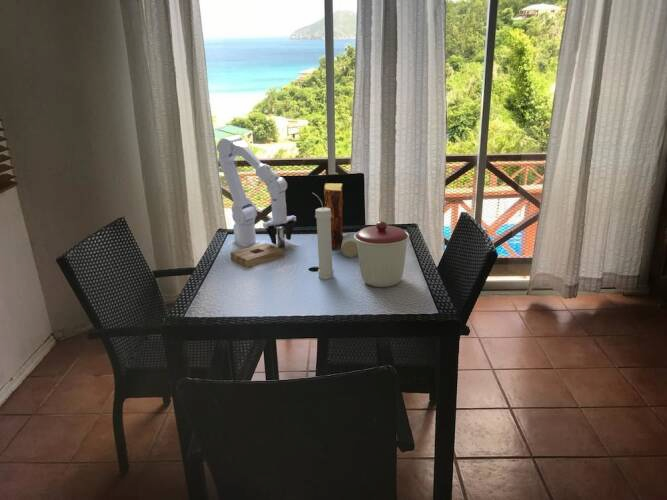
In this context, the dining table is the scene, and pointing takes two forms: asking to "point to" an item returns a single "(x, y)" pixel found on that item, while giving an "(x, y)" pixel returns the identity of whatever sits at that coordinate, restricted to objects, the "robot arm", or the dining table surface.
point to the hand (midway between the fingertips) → (281, 241)
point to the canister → (381, 254)
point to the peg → (280, 237)
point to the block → (256, 254)
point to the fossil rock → (334, 212)
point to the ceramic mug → (349, 245)
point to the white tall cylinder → (324, 242)
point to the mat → (286, 246)
